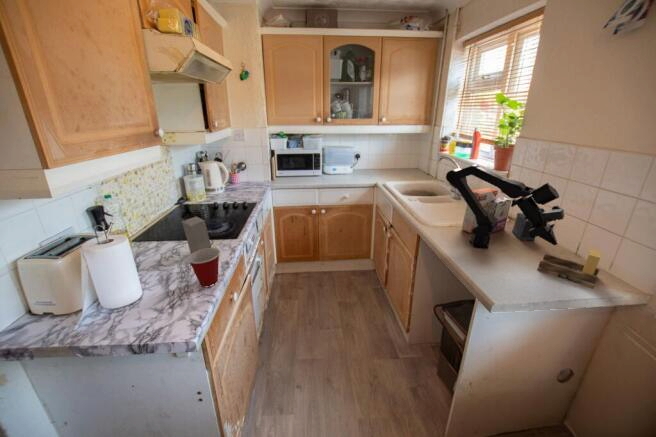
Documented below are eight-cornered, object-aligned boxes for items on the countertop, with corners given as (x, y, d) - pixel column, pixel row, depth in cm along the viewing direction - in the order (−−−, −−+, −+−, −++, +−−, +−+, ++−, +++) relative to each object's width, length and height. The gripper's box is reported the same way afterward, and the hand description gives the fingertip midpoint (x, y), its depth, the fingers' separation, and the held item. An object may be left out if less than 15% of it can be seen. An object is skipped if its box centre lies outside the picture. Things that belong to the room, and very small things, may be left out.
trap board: (537, 269, 114) (539, 261, 113) (543, 259, 122) (545, 252, 120) (593, 288, 103) (596, 279, 102) (596, 276, 111) (599, 267, 109)
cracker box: (471, 234, 144) (479, 193, 136) (461, 229, 149) (468, 190, 141) (489, 228, 150) (498, 189, 142) (479, 224, 155) (487, 186, 147)
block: (580, 276, 107) (589, 254, 104) (582, 270, 111) (591, 249, 108) (590, 280, 105) (600, 257, 102) (592, 273, 109) (601, 251, 106)
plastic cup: (211, 271, 112) (206, 244, 108) (230, 279, 107) (226, 251, 103) (186, 286, 104) (179, 256, 99) (206, 295, 99) (200, 265, 94)
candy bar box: (495, 226, 154) (503, 196, 147) (504, 229, 149) (512, 199, 143) (481, 229, 149) (488, 199, 143) (489, 233, 145) (497, 202, 139)
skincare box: (213, 254, 125) (207, 220, 119) (196, 260, 120) (189, 225, 114) (204, 247, 130) (198, 215, 124) (188, 253, 125) (181, 219, 119)
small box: (535, 242, 136) (541, 221, 132) (519, 241, 138) (525, 220, 134) (525, 232, 146) (531, 213, 142) (511, 231, 147) (516, 212, 143)
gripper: (547, 206, 103) (576, 244, 100) (557, 195, 115) (583, 228, 113) (516, 220, 111) (542, 256, 108) (529, 208, 124) (552, 240, 121)
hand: (556, 244), depth 112 cm, fingers closed
